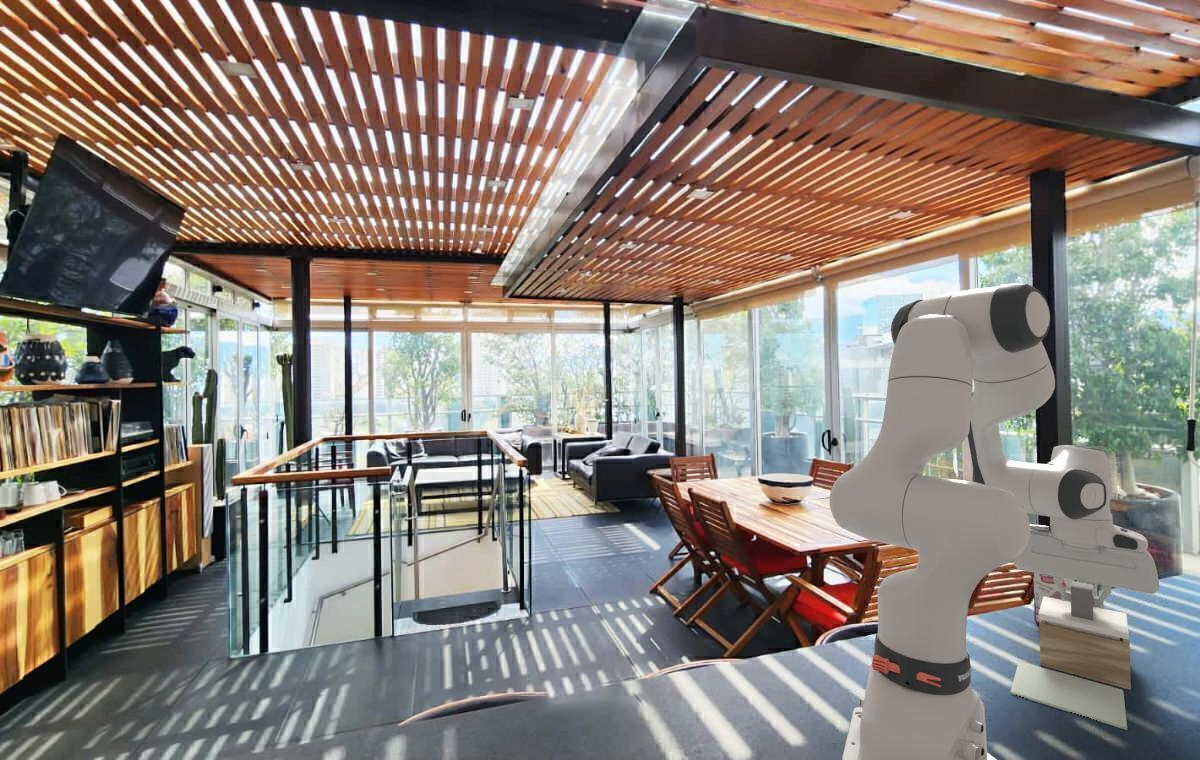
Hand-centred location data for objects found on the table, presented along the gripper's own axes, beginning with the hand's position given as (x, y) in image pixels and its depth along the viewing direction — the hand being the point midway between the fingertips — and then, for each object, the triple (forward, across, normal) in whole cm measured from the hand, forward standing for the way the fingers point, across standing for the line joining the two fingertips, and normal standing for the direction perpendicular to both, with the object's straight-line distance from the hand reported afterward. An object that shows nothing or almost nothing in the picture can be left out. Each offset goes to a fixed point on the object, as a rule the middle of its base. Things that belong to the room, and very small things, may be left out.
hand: (1082, 604), depth 99 cm
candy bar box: (+12, -3, +15) cm, 19 cm away
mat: (+11, -2, -15) cm, 19 cm away
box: (+12, 0, 0) cm, 12 cm away
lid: (+4, 0, 0) cm, 4 cm away
